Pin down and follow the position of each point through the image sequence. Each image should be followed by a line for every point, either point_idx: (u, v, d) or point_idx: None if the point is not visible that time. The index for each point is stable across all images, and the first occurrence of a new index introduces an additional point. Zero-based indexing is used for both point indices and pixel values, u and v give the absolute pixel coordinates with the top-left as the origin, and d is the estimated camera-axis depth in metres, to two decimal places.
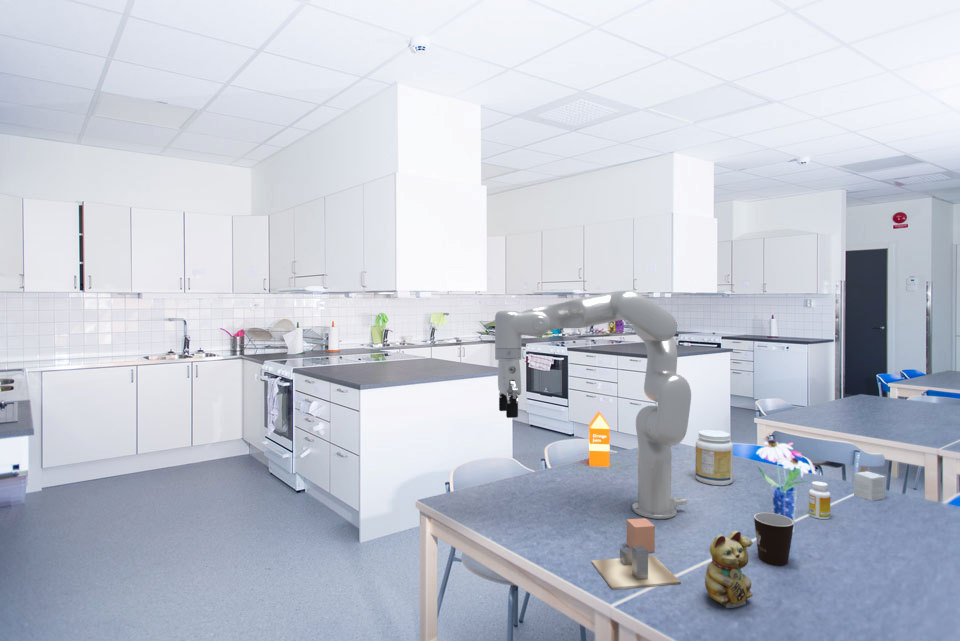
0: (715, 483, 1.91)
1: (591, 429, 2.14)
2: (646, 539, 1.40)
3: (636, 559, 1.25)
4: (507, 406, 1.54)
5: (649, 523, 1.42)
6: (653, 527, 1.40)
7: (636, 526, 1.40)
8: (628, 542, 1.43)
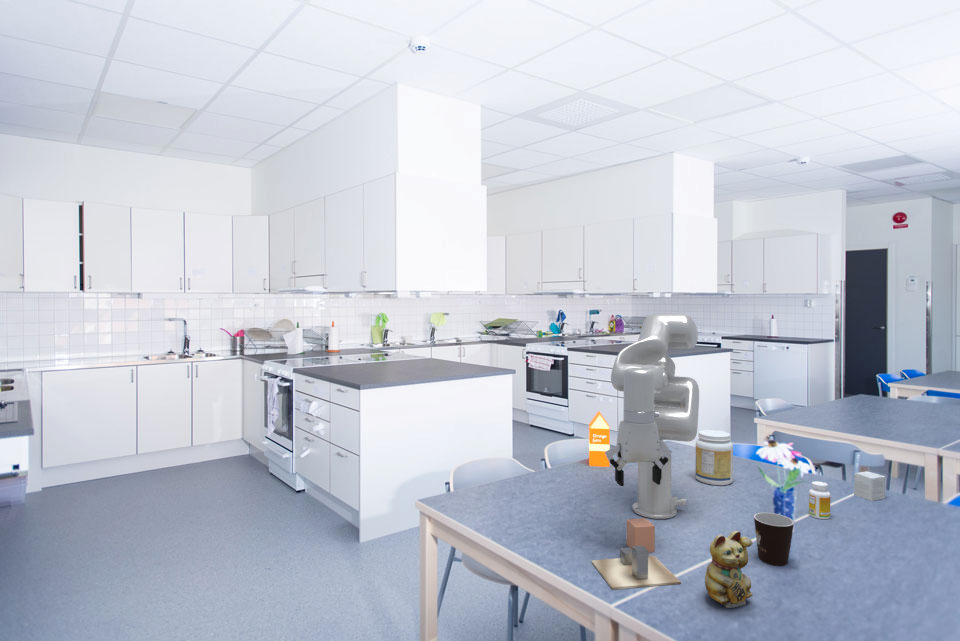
0: (715, 483, 1.91)
1: (591, 429, 2.14)
2: (646, 539, 1.40)
3: (636, 559, 1.25)
4: (659, 472, 1.41)
5: (649, 523, 1.42)
6: (653, 527, 1.40)
7: (636, 526, 1.40)
8: (628, 542, 1.43)
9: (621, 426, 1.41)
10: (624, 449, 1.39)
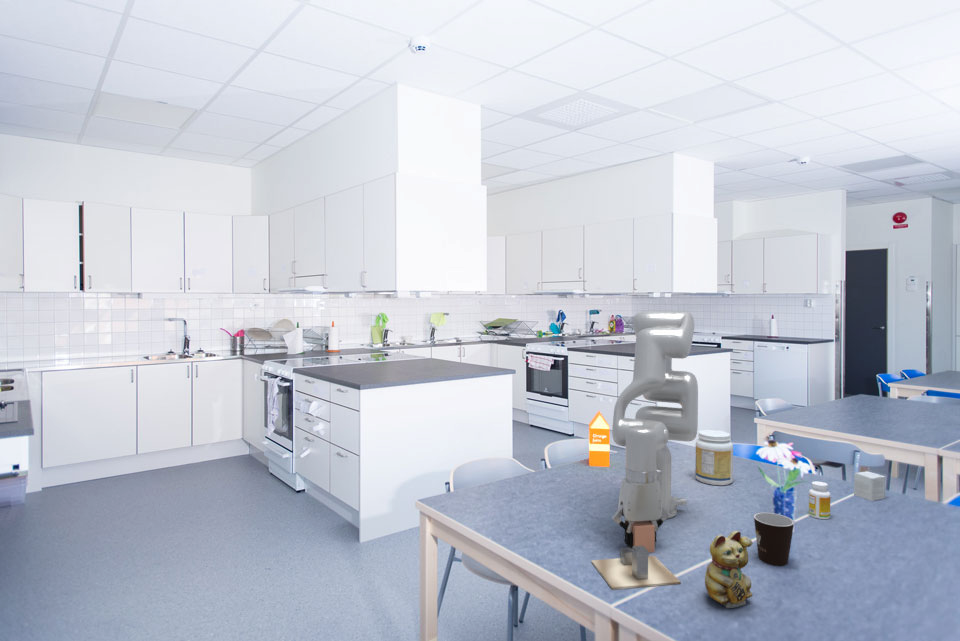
0: (715, 483, 1.91)
1: (591, 429, 2.14)
2: (646, 539, 1.40)
3: (636, 559, 1.25)
4: None
5: (649, 523, 1.42)
6: (653, 527, 1.40)
7: (636, 526, 1.40)
8: None
9: (623, 485, 1.41)
10: (627, 508, 1.39)
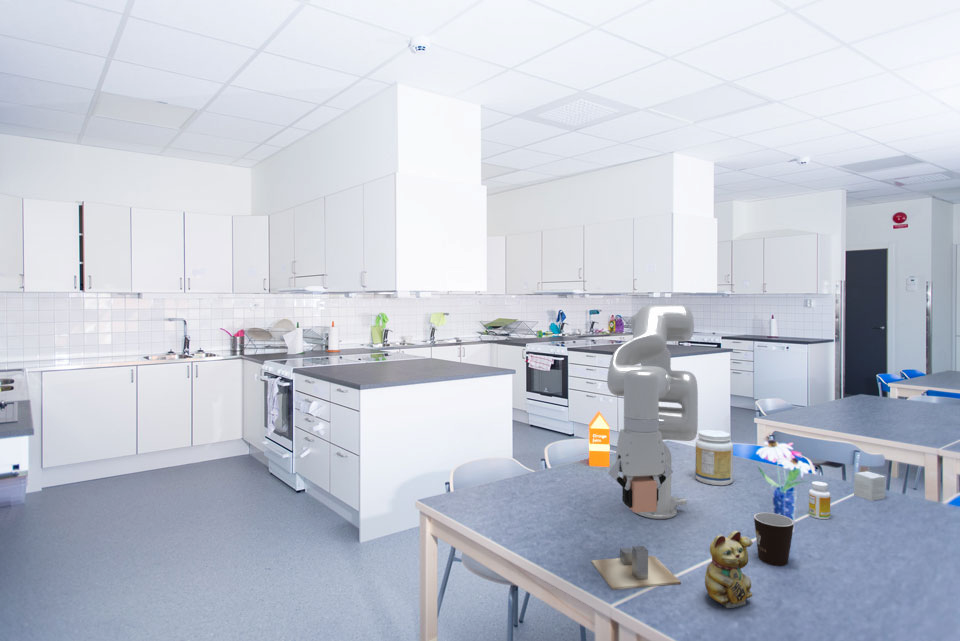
0: (715, 483, 1.91)
1: (591, 429, 2.14)
2: (647, 496, 1.23)
3: (636, 559, 1.25)
4: None
5: (650, 479, 1.25)
6: (655, 483, 1.24)
7: (636, 482, 1.23)
8: None
9: (621, 436, 1.25)
10: (625, 461, 1.23)
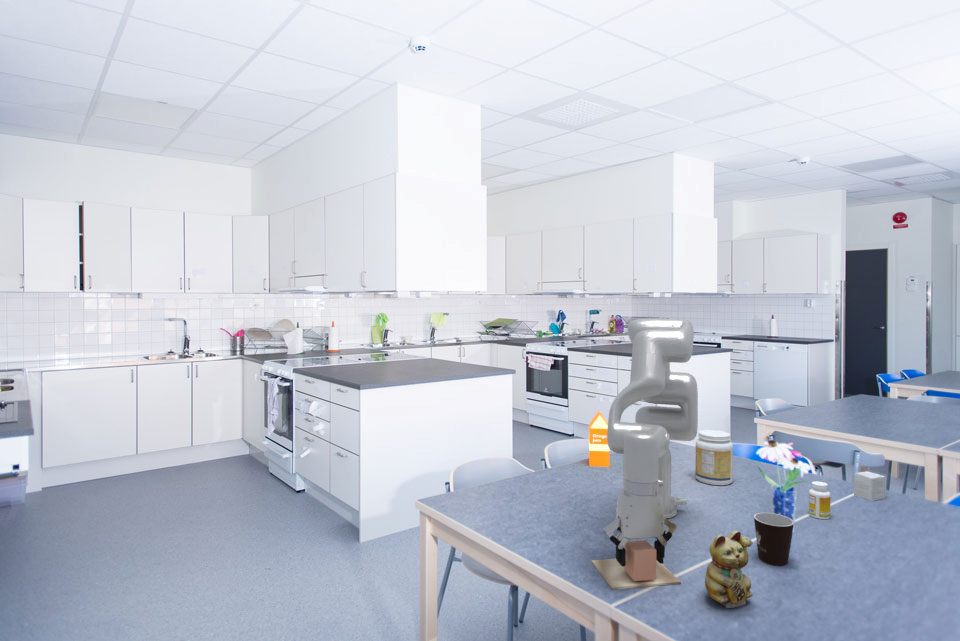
0: (715, 483, 1.91)
1: (591, 429, 2.14)
2: (647, 565, 1.24)
3: None
4: (662, 549, 1.26)
5: (650, 546, 1.26)
6: (654, 551, 1.24)
7: (635, 550, 1.24)
8: (626, 567, 1.28)
9: (621, 498, 1.25)
10: (624, 524, 1.24)
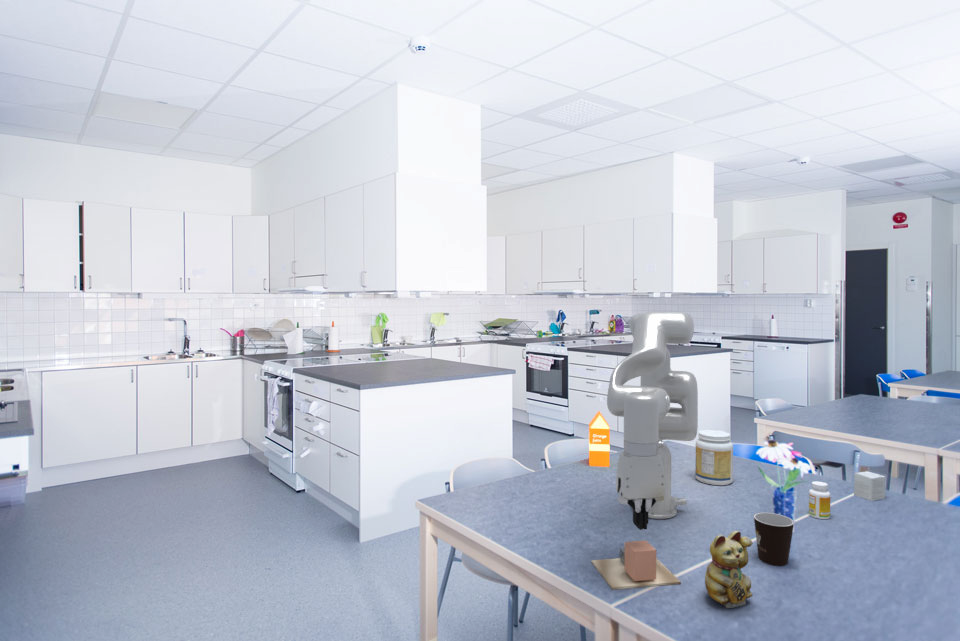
0: (715, 483, 1.91)
1: (591, 429, 2.14)
2: (647, 565, 1.24)
3: None
4: None
5: (650, 546, 1.26)
6: (654, 551, 1.24)
7: (635, 550, 1.24)
8: (626, 567, 1.28)
9: (621, 459, 1.25)
10: (625, 485, 1.24)
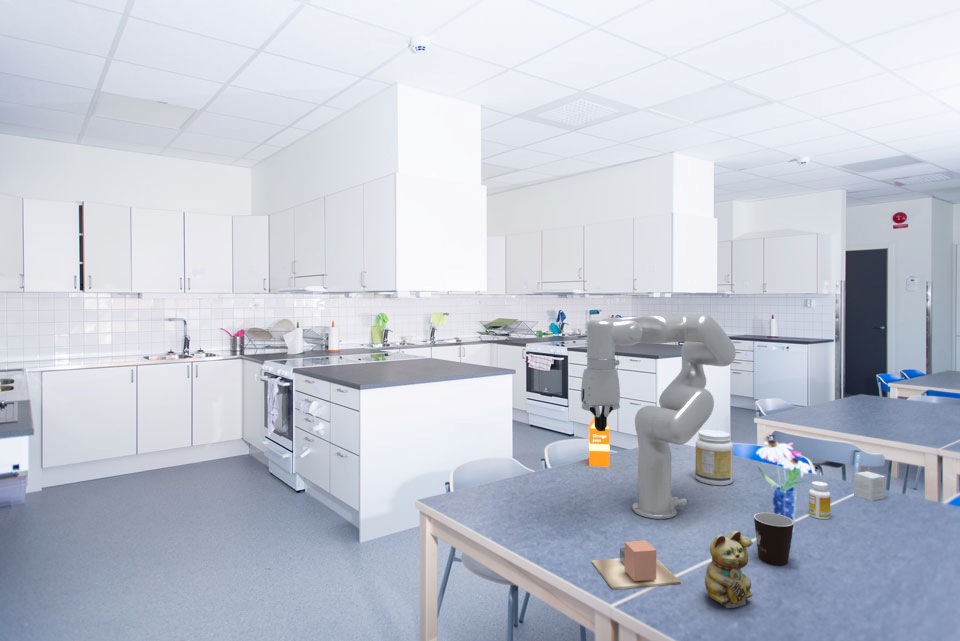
0: (715, 483, 1.91)
1: (591, 429, 2.14)
2: (647, 565, 1.24)
3: None
4: (604, 420, 1.54)
5: (650, 546, 1.26)
6: (654, 551, 1.24)
7: (635, 550, 1.24)
8: (626, 567, 1.28)
9: (585, 373, 1.54)
10: (587, 393, 1.53)
